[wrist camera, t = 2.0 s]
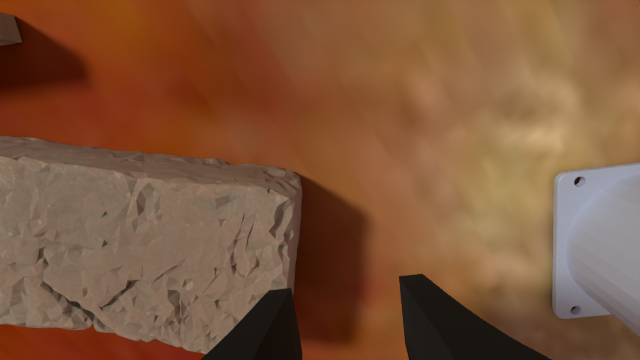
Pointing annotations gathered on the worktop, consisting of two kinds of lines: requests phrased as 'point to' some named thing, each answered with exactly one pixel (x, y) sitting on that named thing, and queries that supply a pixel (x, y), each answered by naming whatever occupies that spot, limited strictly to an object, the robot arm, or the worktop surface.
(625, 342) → the worktop surface
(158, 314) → the brick
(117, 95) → the worktop surface
